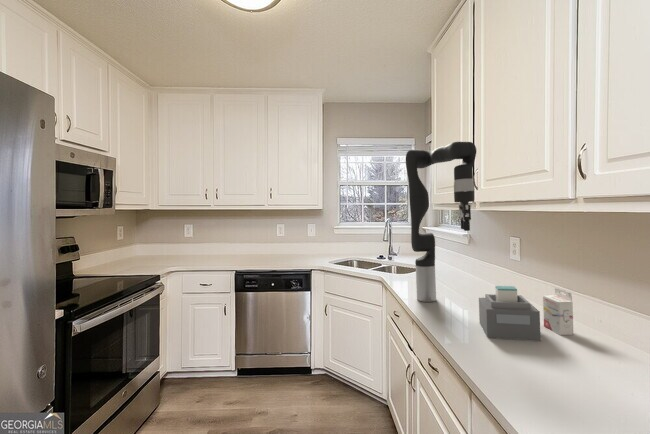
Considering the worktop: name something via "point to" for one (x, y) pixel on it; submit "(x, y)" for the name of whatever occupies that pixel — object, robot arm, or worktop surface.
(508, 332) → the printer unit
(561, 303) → the ink cartridge box
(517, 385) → the worktop surface
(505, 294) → the block
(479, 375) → the worktop surface
